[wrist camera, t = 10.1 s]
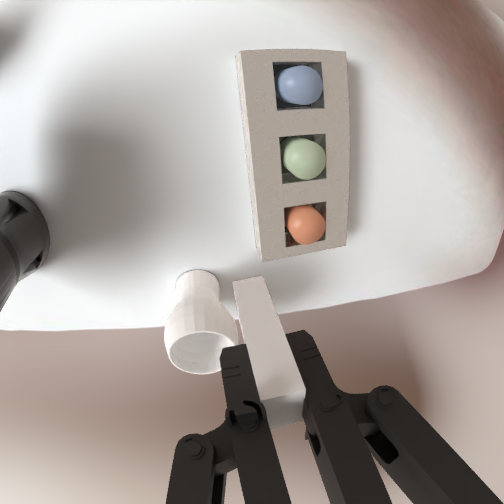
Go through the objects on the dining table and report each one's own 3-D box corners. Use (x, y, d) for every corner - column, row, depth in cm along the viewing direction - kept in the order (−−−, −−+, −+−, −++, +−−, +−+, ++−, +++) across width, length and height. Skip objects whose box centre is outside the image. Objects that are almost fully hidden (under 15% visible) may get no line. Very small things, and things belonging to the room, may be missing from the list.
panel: (256, 247, 48) (262, 261, 44) (235, 55, 32) (240, 51, 28) (334, 232, 49) (345, 245, 46) (331, 54, 33) (345, 51, 30)
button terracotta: (282, 231, 46) (292, 247, 42) (281, 201, 44) (291, 215, 39) (313, 226, 47) (325, 241, 43) (312, 197, 44) (325, 209, 40)
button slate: (273, 104, 36) (284, 105, 32) (270, 68, 33) (281, 65, 29) (309, 102, 36) (324, 104, 32) (306, 68, 34) (321, 65, 29)
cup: (237, 271, 50) (254, 336, 37) (214, 315, 54) (224, 380, 41) (177, 254, 46) (175, 319, 33) (160, 302, 50) (156, 369, 37)
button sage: (279, 171, 41) (289, 181, 37) (276, 137, 38) (287, 143, 34) (312, 167, 42) (326, 177, 37) (311, 134, 39) (325, 140, 35)
